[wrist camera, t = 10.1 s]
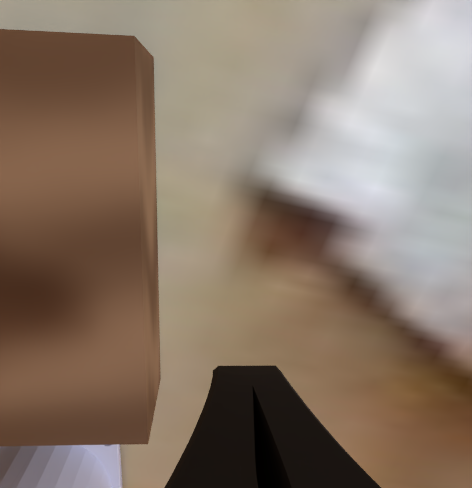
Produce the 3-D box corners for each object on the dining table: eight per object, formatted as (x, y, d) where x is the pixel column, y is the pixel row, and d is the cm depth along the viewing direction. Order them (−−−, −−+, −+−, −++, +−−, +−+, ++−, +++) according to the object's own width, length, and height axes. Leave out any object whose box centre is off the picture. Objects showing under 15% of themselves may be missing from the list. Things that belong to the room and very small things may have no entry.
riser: (160, 379, 19) (147, 444, 15) (-38, 380, 19) (-103, 448, 15) (153, 57, 15) (134, 36, 11) (-101, 45, 15) (-212, 18, 11)
